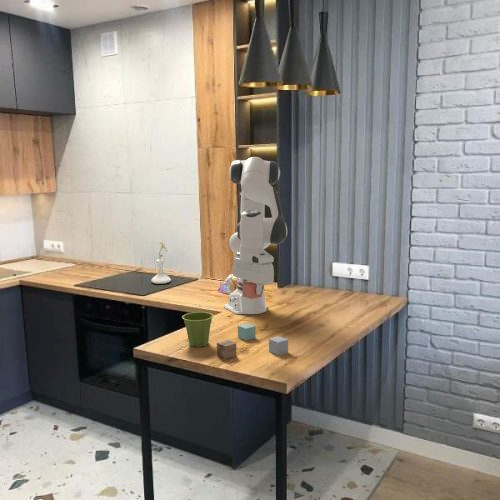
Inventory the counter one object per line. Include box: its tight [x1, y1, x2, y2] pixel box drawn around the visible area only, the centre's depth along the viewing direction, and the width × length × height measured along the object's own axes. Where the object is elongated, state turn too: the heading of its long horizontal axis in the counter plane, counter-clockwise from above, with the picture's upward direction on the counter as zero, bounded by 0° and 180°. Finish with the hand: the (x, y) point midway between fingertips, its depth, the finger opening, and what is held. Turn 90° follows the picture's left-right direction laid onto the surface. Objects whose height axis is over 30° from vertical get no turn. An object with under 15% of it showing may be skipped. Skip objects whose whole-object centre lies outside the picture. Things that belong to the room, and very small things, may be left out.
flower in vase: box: [150, 240, 172, 285], centre depth 300 cm, size 13×11×25 cm
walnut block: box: [216, 339, 237, 360], centre depth 183 cm, size 5×5×5 cm
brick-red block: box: [243, 281, 262, 299], centre depth 188 cm, size 5×5×5 cm
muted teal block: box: [237, 323, 257, 341], centre depth 203 cm, size 5×5×5 cm
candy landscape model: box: [216, 273, 240, 295], centre depth 283 cm, size 25×24×9 cm
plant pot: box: [181, 311, 214, 348], centre depth 195 cm, size 12×12×11 cm
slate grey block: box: [268, 335, 289, 356], centre depth 187 cm, size 5×5×5 cm
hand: (252, 292), depth 188 cm, fingers closed on brick-red block, 5 cm apart
